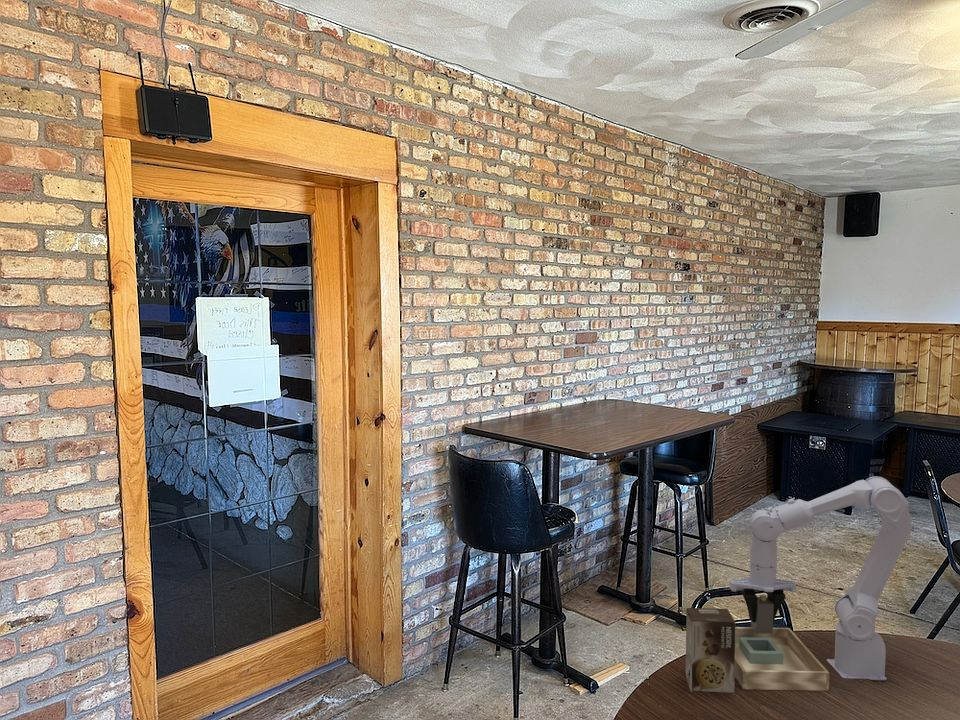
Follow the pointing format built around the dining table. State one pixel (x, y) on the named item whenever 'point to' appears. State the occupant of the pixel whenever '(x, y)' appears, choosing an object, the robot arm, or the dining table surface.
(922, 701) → the dining table surface
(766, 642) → the socket
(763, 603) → the plug
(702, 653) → the coffee box
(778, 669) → the walled box
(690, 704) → the dining table surface
